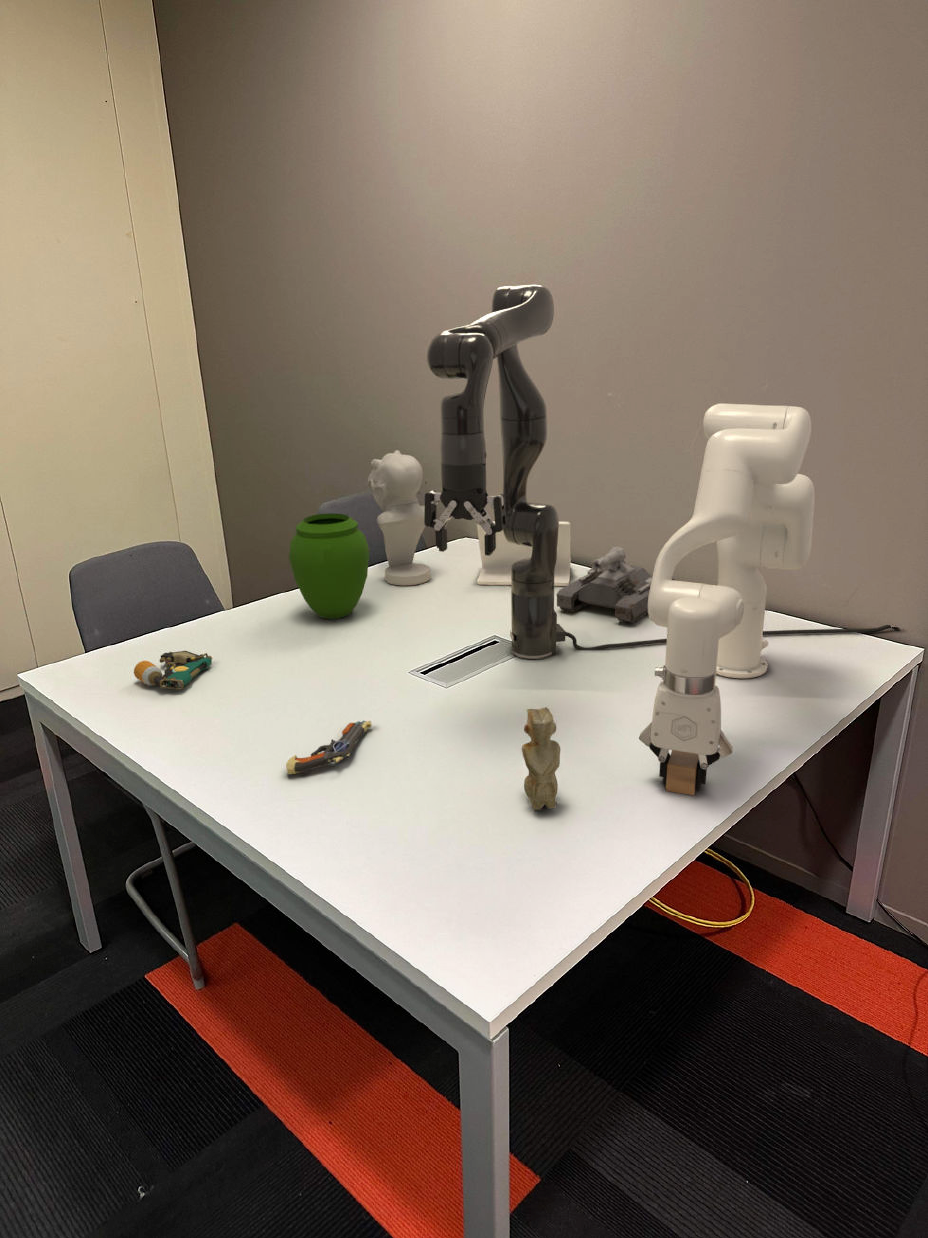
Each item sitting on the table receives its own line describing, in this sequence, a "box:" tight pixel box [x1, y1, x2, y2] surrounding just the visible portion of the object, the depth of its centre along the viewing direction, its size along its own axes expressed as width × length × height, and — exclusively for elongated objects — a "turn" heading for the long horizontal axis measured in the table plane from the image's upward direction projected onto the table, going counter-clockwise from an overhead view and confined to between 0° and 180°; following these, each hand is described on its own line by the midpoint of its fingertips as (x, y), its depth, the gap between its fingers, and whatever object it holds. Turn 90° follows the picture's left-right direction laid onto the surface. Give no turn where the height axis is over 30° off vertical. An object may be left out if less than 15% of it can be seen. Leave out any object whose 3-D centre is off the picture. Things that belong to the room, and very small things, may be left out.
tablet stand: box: [476, 520, 572, 587], centre depth 236 cm, size 18×25×17 cm
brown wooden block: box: [665, 750, 699, 796], centre depth 135 cm, size 5×4×5 cm
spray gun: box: [133, 650, 213, 690], centre depth 180 cm, size 4×17×15 cm
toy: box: [556, 546, 676, 624], centre depth 212 cm, size 25×20×15 cm
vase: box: [288, 512, 370, 620], centre depth 209 cm, size 20×20×24 cm
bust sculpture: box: [366, 449, 432, 586], centre depth 237 cm, size 16×24×35 cm
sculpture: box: [521, 706, 561, 811], centre depth 129 cm, size 6×7×15 cm
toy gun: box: [285, 720, 373, 775], centre depth 148 cm, size 3×19×10 cm
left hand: (465, 552), depth 148 cm, fingers open, 8 cm apart
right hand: (682, 782), depth 135 cm, fingers closed on brown wooden block, 4 cm apart
